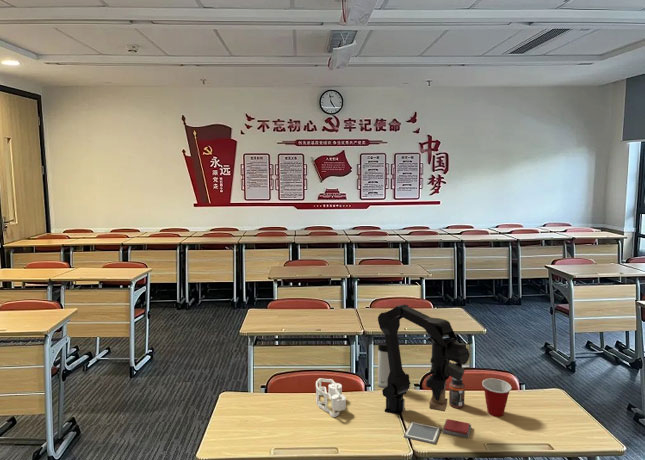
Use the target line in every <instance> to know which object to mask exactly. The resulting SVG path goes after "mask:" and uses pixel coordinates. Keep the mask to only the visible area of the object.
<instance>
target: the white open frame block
mask: <svg viewBox="0 0 645 460" xmlns="http://www.w3.org/2000/svg"><path fill="white" fill-rule="evenodd" d="M322 382H323V383H329V384H328V390H327V387H326V386H322ZM342 388H343V385H342V384H341V383H339V382H335V381H334V379H333V378H323V377H322V378H321V377H320V378H318V379H317V380H316V381H315V392H316V393H315V400H316V405H317V406H319V407H318V408H319V409H321V410H323V411H324V412H327V413H329V415H330V417H332V418H335V417H338V416H339V415H341V414H340V412H341V411H345V410H346V409H347V408H346V404H347V403H346V402H347V401H346V400H347V397H346V395H344V394H343V393H342V391H343V389H342ZM327 391H328V392H327ZM319 395H320V396H322V395H323V401H320V399H319V398H320V396H319ZM328 399H329V400H330V402H331V403H330V404H331V409H332V411H331V409H330V408H328ZM322 404H325V405H322ZM336 411H337V412H336Z"/></svg>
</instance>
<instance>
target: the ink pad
mask: <svg viewBox="0 0 645 460" xmlns="http://www.w3.org/2000/svg"><path fill="white" fill-rule="evenodd" d="M471 430H472V424H471V423H468V422H466V421H465V422H464V421H459V420H454V419H449V418H447V419H446V420H445V422H444V424H443V427H442V429H441V431H442V434H446V435H449V436H451V435H452V436H456V437H460V438H464V439H469V437H470V434H471Z"/></svg>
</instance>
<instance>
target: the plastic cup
mask: <svg viewBox="0 0 645 460" xmlns="http://www.w3.org/2000/svg"><path fill="white" fill-rule="evenodd" d="M481 384H482V388H483V392H484V398H485V402H486V404H485V405H486V409H487V413H488V415H489V416H492V417H497V418H499V417H502V416H504V414H505V409H506V407H507V402H508V398H509V395H510V391H511V390H512V389H513V388H512V386H511V384H510V383H509V382H507V381H505V380H502V379H498V378H492V377H490V378H485V379H484V380H482V382H481Z"/></svg>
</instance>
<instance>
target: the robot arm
mask: <svg viewBox="0 0 645 460" xmlns="http://www.w3.org/2000/svg"><path fill="white" fill-rule="evenodd" d="M401 319H405V320H407V321H409V322H411V323H413V324H415V325H416V326H419V327H421V328H422V329H424V331H426V332H425V333H426V334H427V335H429V337H428V338H427V339H426V341H427V342H429V343H431V357H430V360H429V361H430V363H431V366H430V367H431V368H430V369H429V374H431V375H429V376H428V377H427V379H426V381H425V387H427V388H428V389H430V390H431V393H432V392H433V394H434V397H435V399H436V400H437V401H439V399H440V395H441V390H444V389H445V387H447V380H448V379H449V378H450V377H452V378H455V379H456V380H458V381H461V378H462V379H463V376H464V375H465V372H466V371H465V367H463V365H466V364H467V363H468V361H469V359H470V350H469V349H468V348H467V344H466V343H460V342H458V341H459V339H458V337H457V335H456V333H455V331H454V330H453V328H452V325H451V322H450V321H448V320H447V319H443V318H437V317H431V316H429V315H427V314H425V313H422V312H421V311H419V310H417V309H415V308H412V307H410V306H409V305H408V304H405V303H404V304H401V305H396V306H395V307H394V308H391V309H389V310H388V311H384V312H381V313H379V314H378V316H377V322H378V325H379V329H380V331H382V333H383V335H384V340H385V342H386V347H387V354H388V361H389V367H390V373H389V376H388V379H387V384H388V386H387V387H386V388H384V389H383V388H382V391H381V392H382V395H383V397H384V398H385V409H384V412H386V413H390V414H396V415H401V414H402V413H403V411H405V400H406V399H405V398H404V395H406V394H407V392H408V391H409V389H410V387H411V386H410V385H411V381H410V374H409V373H406V372H405V371H404V369H403V364H402V358H401V350H400V344H399V337H398V332H399V330H400V325H401V324H400V321H401ZM452 362H453V363H452ZM445 390H446V389H445Z"/></svg>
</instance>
